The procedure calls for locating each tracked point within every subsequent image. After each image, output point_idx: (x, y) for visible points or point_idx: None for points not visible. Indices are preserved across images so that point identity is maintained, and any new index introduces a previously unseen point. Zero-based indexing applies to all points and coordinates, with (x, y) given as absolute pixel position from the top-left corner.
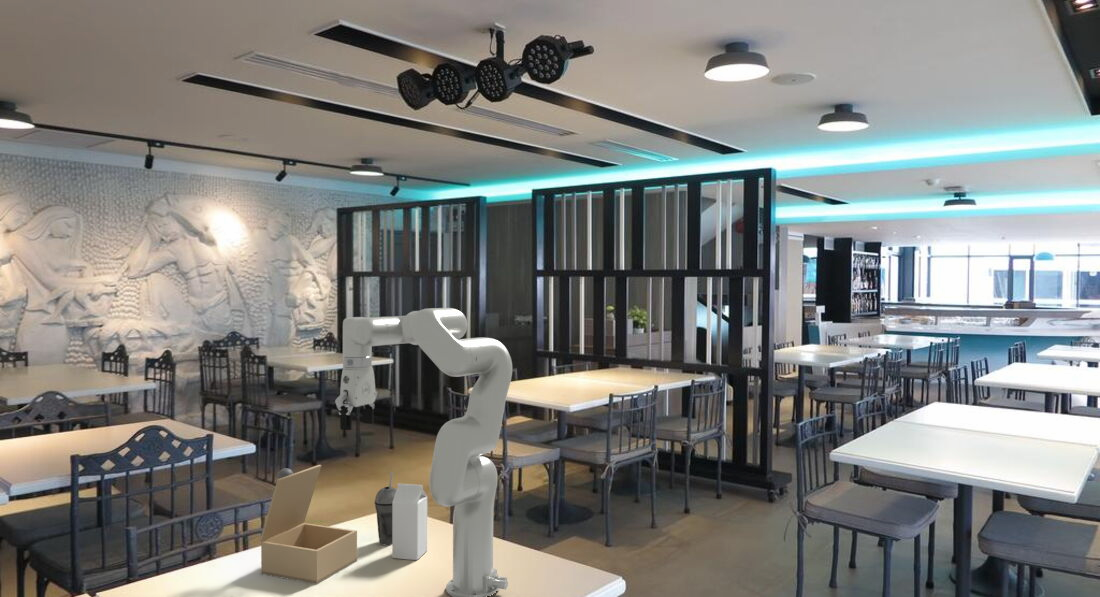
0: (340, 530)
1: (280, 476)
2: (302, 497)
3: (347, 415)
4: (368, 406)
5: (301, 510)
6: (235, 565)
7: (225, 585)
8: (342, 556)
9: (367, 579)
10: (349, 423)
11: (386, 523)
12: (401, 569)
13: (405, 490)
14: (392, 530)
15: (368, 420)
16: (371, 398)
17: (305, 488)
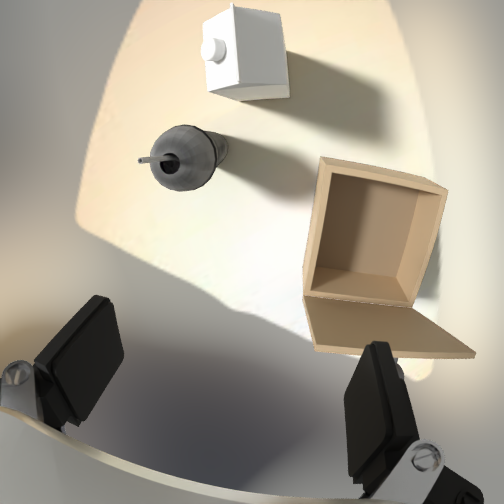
0: (326, 203)
1: None
2: (347, 319)
3: (405, 447)
4: (46, 408)
5: (329, 307)
6: None
7: (433, 299)
8: (368, 167)
9: (391, 102)
10: (395, 381)
11: (219, 143)
12: (334, 61)
13: (246, 55)
14: (288, 92)
15: (107, 333)
16: (16, 473)
17: (352, 326)
